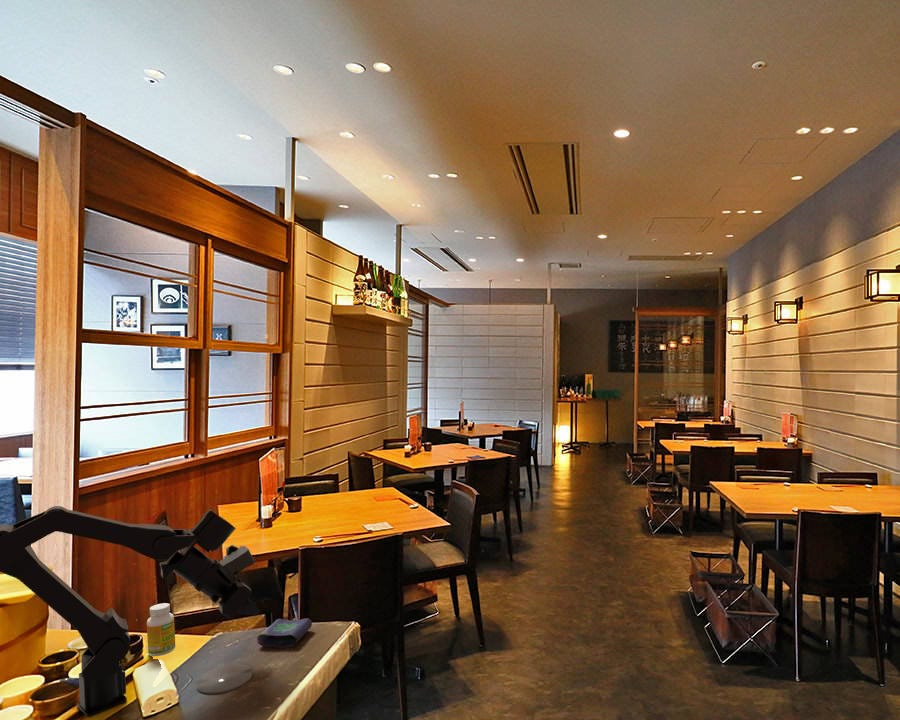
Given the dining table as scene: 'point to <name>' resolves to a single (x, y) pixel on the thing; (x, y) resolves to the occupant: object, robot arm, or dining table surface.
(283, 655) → the dining table surface
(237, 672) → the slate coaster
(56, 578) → the robot arm
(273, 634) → the flask
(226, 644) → the dining table surface
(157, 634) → the supplement bottle
